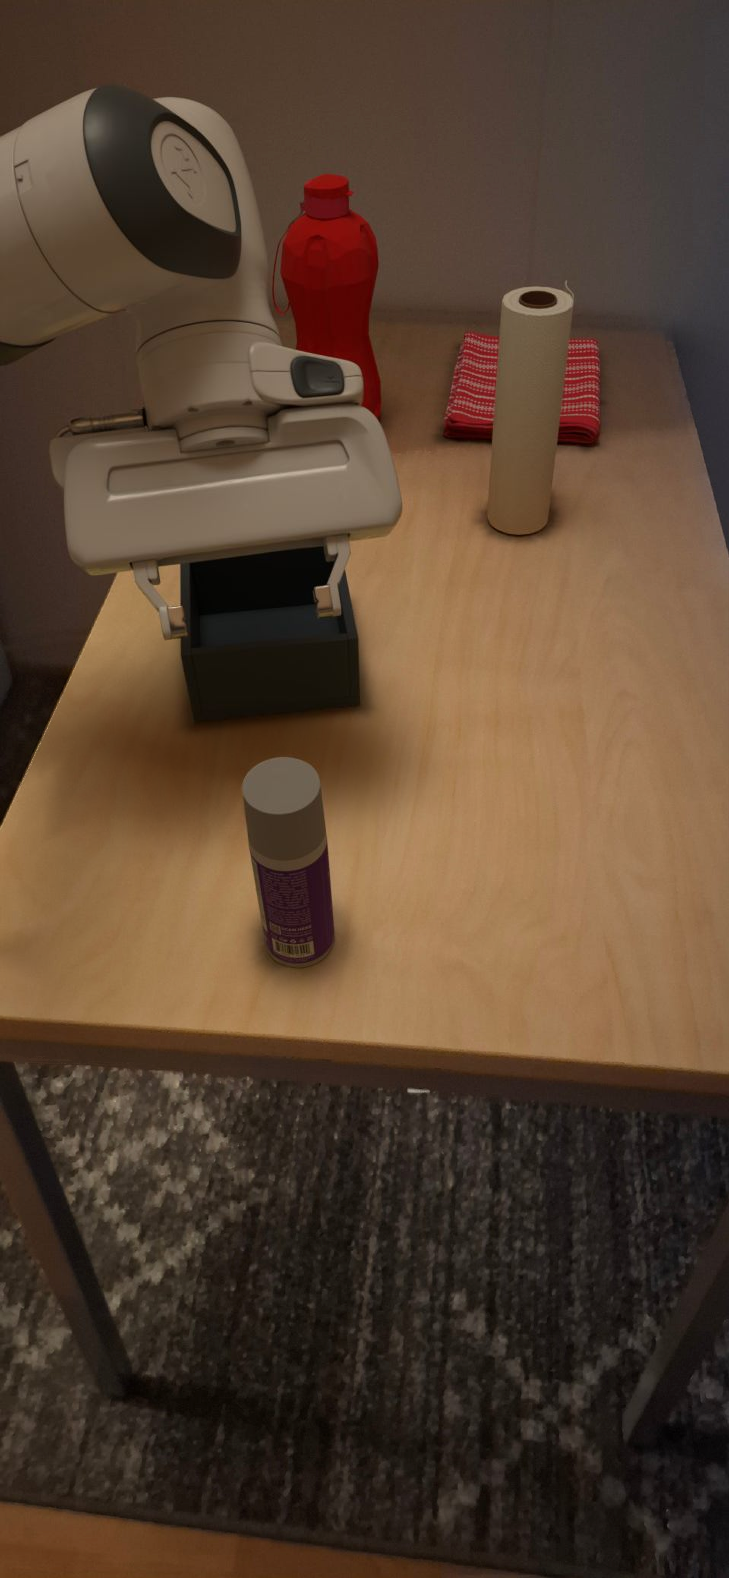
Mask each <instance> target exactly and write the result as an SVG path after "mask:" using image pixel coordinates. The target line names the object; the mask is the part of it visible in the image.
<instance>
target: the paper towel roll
mask: <svg viewBox="0 0 729 1578" xmlns="http://www.w3.org/2000/svg"><path fill="white" fill-rule="evenodd" d="M567 284H568V279H566V280H565V282H564V288H563V289H564V290H562V289H557V288H553V287H551V286H550V287H549V286H537V285H536V286H524V287H519V288H515V289H513V290H510V291H509V292H507V293H505V294H504V295H503V298H502V300H501V306H500V320H499V321H500V322H499V323H500V324H499V350H498V364H497V378H496V393H495V407H494V422H493V436H492V439H491V451H490V467H489V480H488V481H489V482H488V493H487V494H488V495H487V508H486V509H487V510H486V517H487V520H488V522H489V525H491V526H492V527H493V528H495V530H497V531H500V532H502V533H504V534H509V535H517V536H521V535H531V534H533V533H536V532H539V531H541V530H542V529H543V528H544V527H545V526H546V525H547V524H548V521H549V515H550V507H551V499H552V489H553V481H554V474H555V473H554V472H555V463H556V454H557V446H558V441H557V439H558V431H559V422H560V414H561V405H562V397H563V389H564V380H565V372H566V363H567V355H568V346H569V339H571V329H572V321H573V312H574V304H575V294H574V293H573V292H572V291H571V289H570V288H569V287H568V285H567Z"/></svg>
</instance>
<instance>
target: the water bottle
mask: <svg viewBox="0 0 729 1578" xmlns="http://www.w3.org/2000/svg"><path fill="white" fill-rule="evenodd" d="M354 193H355V191H354V190H350V182H349V179H348V178H347V177H346V176H344V175H341V174H333V173H324V174H320V175H317V176H316V177H313V178H311V179H309V180H307V181H306V182H305V183H304V184H303V200H301V201H300V202H299V207H300V208H299V214H298V215H297V216H296V217H295V218H293V220H292V221H291V222H290V223H289V224H288V225H287V229H286V230H285V232H284V234H283V235H282V237H281V238H280V239H279V241H278V244H277V248H276V252H275V258H274V264H273V271H272V281H271V282H272V283H271V294H272V295H271V297H272V302H273V303H272V304H273V307H274V309H275V310H276V311H277V313H278V314H281V315H283V314H285V313H287V312H288V310H289V309H290V310H291V314H292V317H293V320H294V325H295V327H294V328H295V336H296V337H295V338H296V345H295V350H299V351H303V352H308V353H312V354H317V355H322V356H327V357H332V358H337V359H342V360H347V361H350V362H353V363H355V364H356V365H358V366H359V368H360V370H361V372H362V377H363V389H364V394H363V402H362V405H361V406H362V407H364V408H366V409H368V410H369V411H370V412H371V413H373V414H374V416H375V417H376V418H377V419H378V420H379V418H380V415H381V407H382V385H381V384H382V382H381V377H380V374H379V369H378V366H377V361H376V356H375V353H374V349H373V346H372V341H371V338H370V313H371V308H372V303H373V297H374V292H375V286H376V283H377V278H378V277H377V276H378V272H379V266H380V264H379V249H378V243H377V238H376V235H375V233H374V230H373V229H372V228H371V225H370V223H369V222H368V221H367V220H366V219H365V218H364V217H363V216H362V215H361V214H359V213H357V212H356V211H354V210H352V209H351V208H350V197H353V194H354ZM283 238H284V239H283ZM282 240H283V241H282ZM281 242H282V244H281ZM280 245H281V255H280V268H279V271H280V272H279V273H280V277H281V280H282V283H283V287H284V290H285V294H286V298H287V300H288V302H287V303H288V304H287V308H286V310H285V311H284V310H283V311H281V310H280V308H278V306H277V303H276V300H275V298H276V297H275V275H276V274H275V273H276V267H277V259H278V254H279V248H280Z"/></svg>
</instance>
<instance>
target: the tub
mask: <svg viewBox="0 0 729 1578" xmlns="http://www.w3.org/2000/svg"><path fill="white" fill-rule="evenodd" d="M334 563H335V559H334V561H330V562H327V561H326V559H325V553H324V547H323V545H319V546H312V547H304V548H297V549H289V550H282V551H274V552H267V553H259V554H252V555H244V556H237V557H229V558H222V559H214V560H207V561H199V562H192V563H185V564H179V567H180V568H179V582H180V585H179V586H180V588H179V589H180V595H179V597H180V598H179V599H180V603H179V604H180V605H179V606H181V605H183V608H184V612H185V618H186V621H185V624H186V626H187V630H188V637H185V638H180V660H181V665H182V670H183V674H184V681H185V683H186V684H185V685H186V690H187V694H188V695H187V696H188V700H189V704H190V711H191V715H192V720H193V722H194V723H201V722H210V721H211V722H212V721H221V720H222V721H223V720H232V719H242V718H251V717H260V716H271V715H280V714H291V713H299V712H309V711H310V712H311V711H318V710H319V711H320V710H327V709H328V710H329V709H339V708H349V707H358V706H359V707H360V706H361V705H362V703H361V702H362V701H361V676H360V673H361V671H360V649H359V635H358V630H357V624H356V620H355V619H356V618H355V613H354V608H353V604H352V599H351V593H350V588H349V582H348V578H347V577H348V576H347V573H346V572H347V571H346V569H345V570H344V573H343V575H342V578H341V580H340V583H339V585H338V590H339V597H340V603H341V615H340V616H335V617H327V618H319V619H317V617H316V612H315V608H316V606H317V605H316V604H315V603H314V600H313V593H312V591H313V590H314V587H318V586H324V585H326V584H327V582H328V579H329V577H330V574H331V571H332V569H333V566H334Z"/></svg>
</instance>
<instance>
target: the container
mask: <svg viewBox="0 0 729 1578" xmlns="http://www.w3.org/2000/svg"><path fill="white" fill-rule="evenodd" d="M321 783H322V782H321V778H320V775H319V773H318V772H317V770H316V769H315V768H314V766H312V765H311V764H309V763H308V762H307V761H304V760H302V759H300V758H296V757H290V756H288V757H287V756H280V757H273V758H269V759H266V760H263V761H260V762H259V763H257V764H255V766H253V767H252V768H251V769H250V770H249V771H248V772H247V773H246V775H245V776H244V778H243V781H242V783H241V793H242V800H243V801H242V802H243V808H244V817H245V825H246V833H247V842H248V849H249V855H250V861H251V867H252V874H253V879H254V880H253V881H254V885H255V891H256V897H257V905H258V910H259V915H260V921H261V926H262V933H263V934H262V935H263V939H264V943H265V948H266V950H267V954H269V956H270V957H271V958H272V959H273V960H274V961H275V962H277V963H279V964H280V965H282V966H285V967H290V968H295V969H296V968H300V969H301V968H307V967H311V966H313V965H316V964H317V963H320V962H321V961H323V960H324V959H325V958H326V957H327V956H328V955H329V954H330V953H331V951H332V950H333V946H334V944H335V937H336V935H335V922H334V920H335V919H334V907H333V896H332V894H333V893H332V883H331V869H330V855H329V845H328V844H329V843H328V835H327V826H326V818H325V810H324V801H323V800H324V799H323V792H322V785H321Z"/></svg>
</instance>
